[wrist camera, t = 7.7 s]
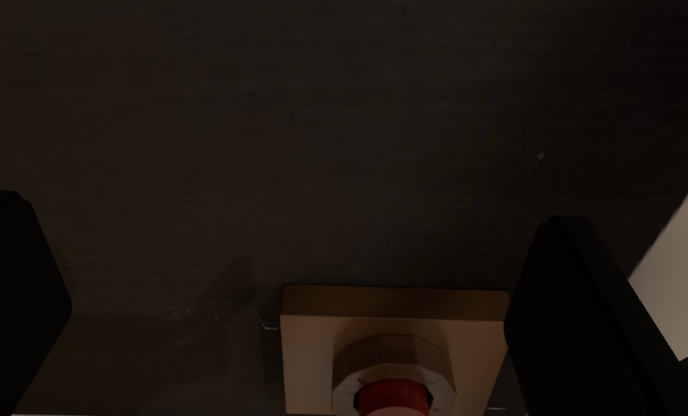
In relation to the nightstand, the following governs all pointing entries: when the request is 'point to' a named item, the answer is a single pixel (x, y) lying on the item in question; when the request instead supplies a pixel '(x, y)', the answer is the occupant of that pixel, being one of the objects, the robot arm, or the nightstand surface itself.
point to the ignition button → (393, 398)
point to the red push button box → (390, 345)
